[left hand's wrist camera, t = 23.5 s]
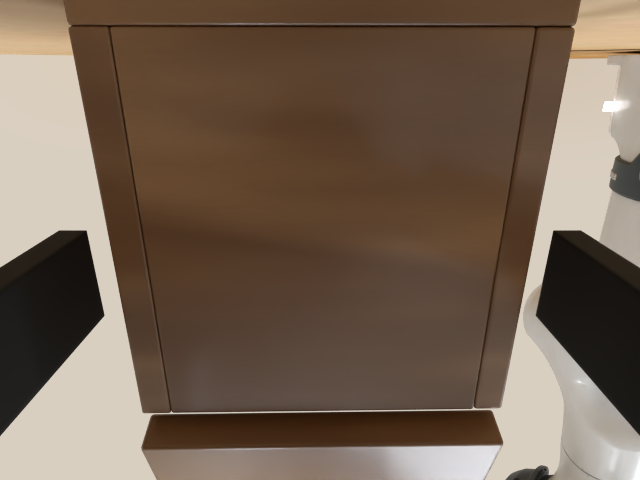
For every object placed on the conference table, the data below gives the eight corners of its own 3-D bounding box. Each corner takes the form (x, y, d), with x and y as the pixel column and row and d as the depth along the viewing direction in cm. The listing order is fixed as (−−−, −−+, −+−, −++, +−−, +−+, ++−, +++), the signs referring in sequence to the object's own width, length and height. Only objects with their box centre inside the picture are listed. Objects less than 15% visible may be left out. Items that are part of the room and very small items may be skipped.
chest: (400, 38, 23) (389, 206, 27) (231, 38, 23) (243, 207, 26) (586, -20, 7) (502, 409, 11) (57, -22, 7) (142, 414, 11)
